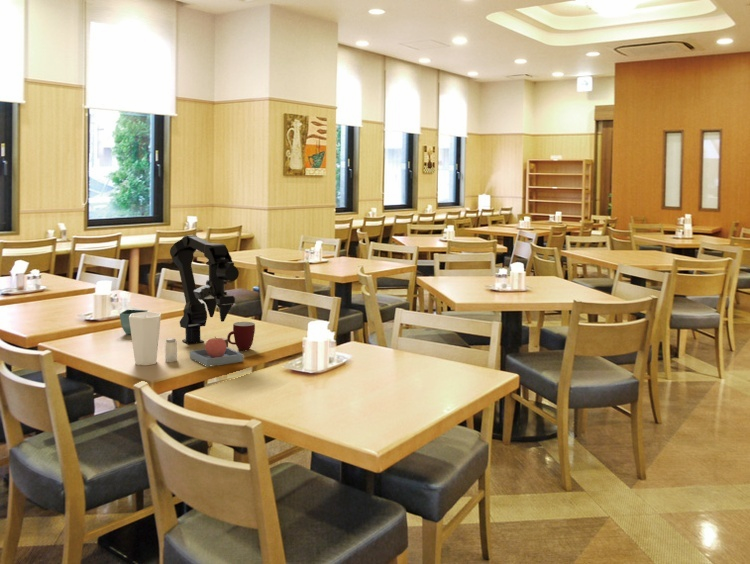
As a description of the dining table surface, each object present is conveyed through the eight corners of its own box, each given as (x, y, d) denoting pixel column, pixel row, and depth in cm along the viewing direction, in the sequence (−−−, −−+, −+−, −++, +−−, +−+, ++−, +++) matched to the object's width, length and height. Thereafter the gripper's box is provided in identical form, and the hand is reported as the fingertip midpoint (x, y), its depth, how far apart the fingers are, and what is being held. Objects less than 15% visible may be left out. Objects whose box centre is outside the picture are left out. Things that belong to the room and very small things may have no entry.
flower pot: (141, 336, 290) (140, 314, 288) (119, 335, 290) (119, 313, 288) (148, 331, 298) (148, 310, 297) (127, 330, 298) (126, 309, 297)
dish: (189, 358, 259) (189, 351, 258) (225, 353, 267) (225, 346, 267) (206, 367, 248) (206, 359, 247) (243, 361, 256) (243, 354, 256)
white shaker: (163, 360, 255) (163, 338, 253) (174, 358, 257) (174, 337, 256) (167, 362, 252) (167, 341, 250) (178, 361, 254) (178, 339, 253)
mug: (233, 354, 266) (233, 327, 264) (223, 349, 272) (223, 323, 270) (258, 350, 273) (258, 324, 271) (248, 346, 279) (248, 320, 277)
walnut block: (213, 349, 272) (212, 339, 272) (221, 347, 275) (221, 337, 275) (220, 351, 270) (219, 341, 269) (228, 349, 273) (228, 339, 272)
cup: (168, 361, 254) (167, 313, 251) (150, 368, 244) (149, 319, 241) (141, 357, 257) (140, 310, 255) (123, 364, 248) (122, 316, 245)
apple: (208, 361, 252) (208, 339, 251) (203, 356, 259) (202, 334, 258) (229, 359, 256) (229, 337, 255) (223, 354, 262) (223, 333, 261)
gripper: (185, 276, 269) (186, 317, 271) (207, 283, 254) (207, 326, 256) (213, 274, 275) (213, 314, 278) (236, 280, 261) (235, 323, 263)
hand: (216, 319), depth 269 cm, fingers open, 9 cm apart
